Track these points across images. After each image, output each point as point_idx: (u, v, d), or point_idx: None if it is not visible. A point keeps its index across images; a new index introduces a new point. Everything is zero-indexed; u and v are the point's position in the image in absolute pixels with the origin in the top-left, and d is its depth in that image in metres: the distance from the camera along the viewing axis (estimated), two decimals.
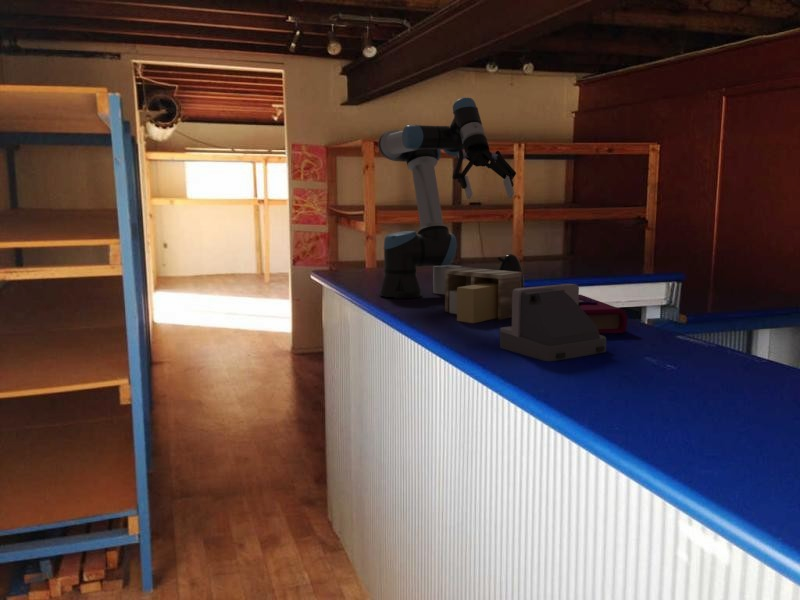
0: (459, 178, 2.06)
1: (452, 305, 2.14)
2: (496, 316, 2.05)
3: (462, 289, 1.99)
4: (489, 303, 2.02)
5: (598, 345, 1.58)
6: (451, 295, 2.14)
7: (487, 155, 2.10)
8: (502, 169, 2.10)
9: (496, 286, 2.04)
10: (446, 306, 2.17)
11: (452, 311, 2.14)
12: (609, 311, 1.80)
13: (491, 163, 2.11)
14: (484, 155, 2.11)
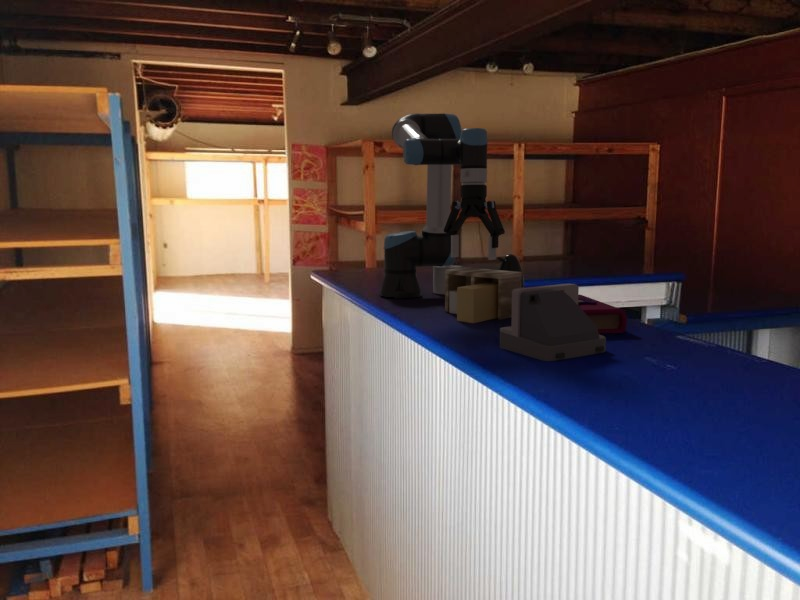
0: None
1: (452, 305, 2.14)
2: (496, 316, 2.05)
3: (462, 289, 1.99)
4: (489, 303, 2.02)
5: (597, 345, 1.59)
6: (451, 295, 2.14)
7: (474, 209, 1.94)
8: (487, 227, 1.93)
9: (496, 286, 2.04)
10: (446, 306, 2.17)
11: (452, 311, 2.14)
12: (609, 311, 1.80)
13: None
14: None
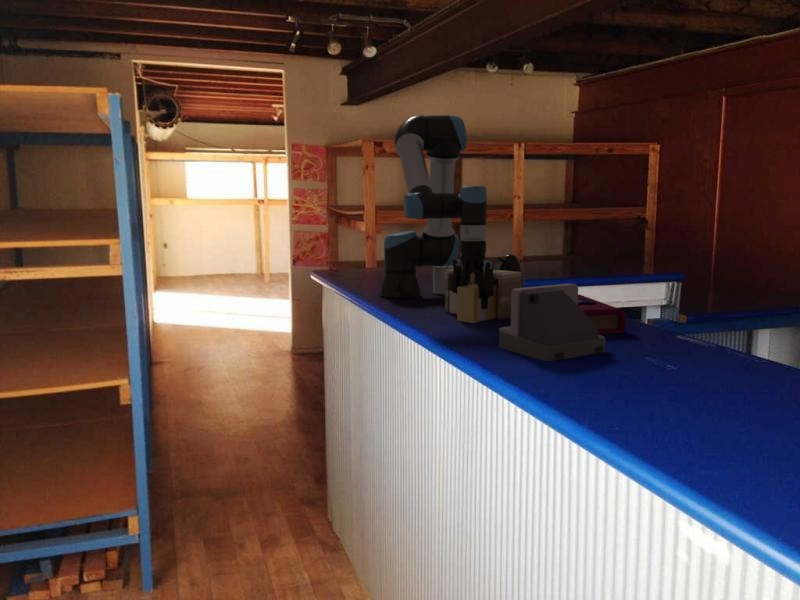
0: None
1: (452, 305, 2.14)
2: (496, 316, 2.05)
3: (462, 289, 1.99)
4: (489, 303, 2.02)
5: (597, 345, 1.59)
6: (451, 295, 2.14)
7: (473, 266, 1.97)
8: (479, 287, 1.97)
9: (496, 286, 2.04)
10: (446, 306, 2.17)
11: (452, 311, 2.14)
12: (608, 311, 1.80)
13: None
14: None
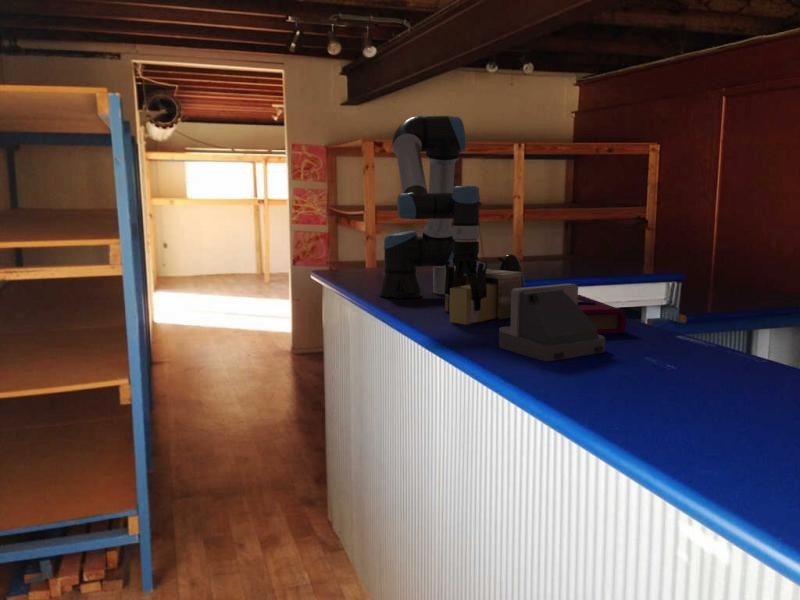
0: None
1: None
2: (489, 317, 2.03)
3: (455, 290, 1.96)
4: (482, 304, 2.00)
5: (597, 345, 1.59)
6: None
7: (465, 267, 1.95)
8: (472, 288, 1.95)
9: (489, 287, 2.01)
10: (446, 306, 2.17)
11: None
12: (608, 311, 1.80)
13: None
14: None
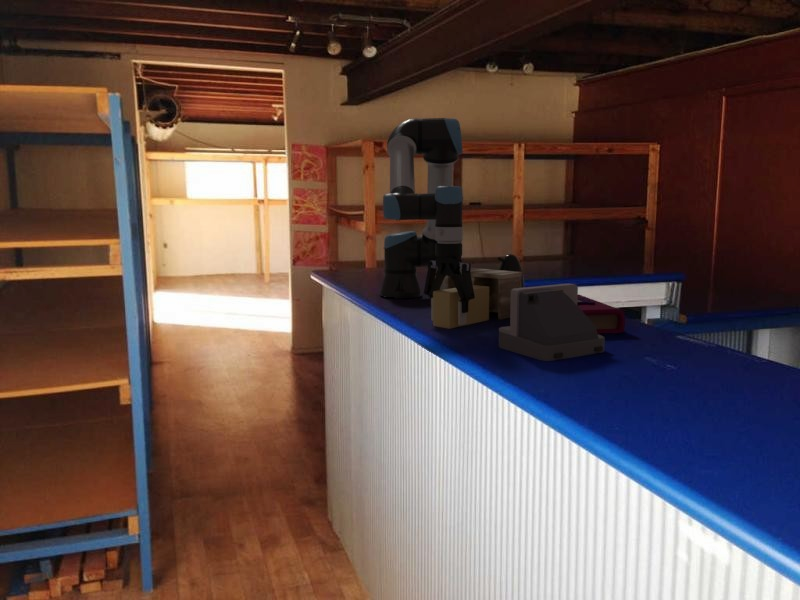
0: None
1: None
2: (474, 321, 1.98)
3: (438, 293, 1.91)
4: None
5: (596, 345, 1.59)
6: None
7: (449, 269, 1.89)
8: (458, 290, 1.89)
9: (474, 290, 1.96)
10: None
11: None
12: (607, 311, 1.80)
13: None
14: None
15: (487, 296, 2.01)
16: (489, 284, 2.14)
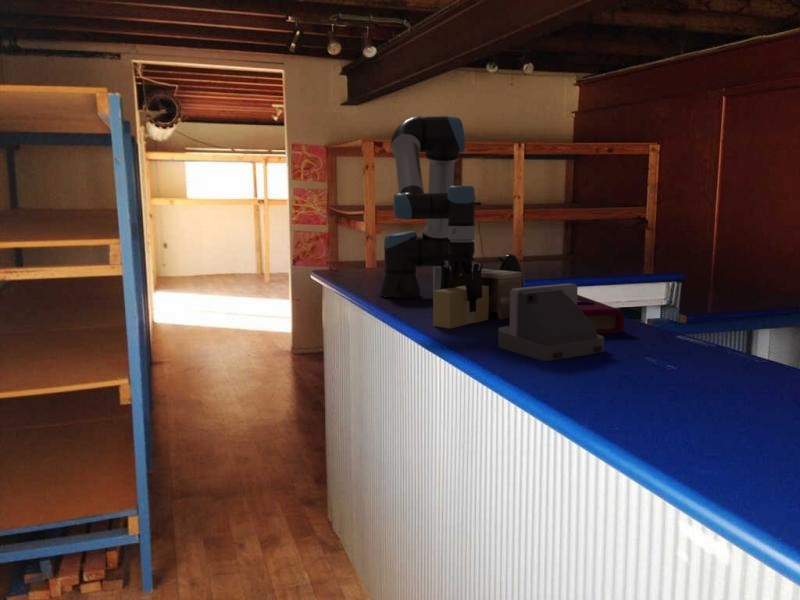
0: None
1: None
2: (474, 320, 1.98)
3: (438, 293, 1.91)
4: None
5: (596, 345, 1.59)
6: None
7: (461, 267, 1.93)
8: (467, 289, 1.93)
9: None
10: None
11: None
12: (606, 311, 1.80)
13: None
14: None
15: (487, 296, 2.01)
16: (489, 284, 2.14)
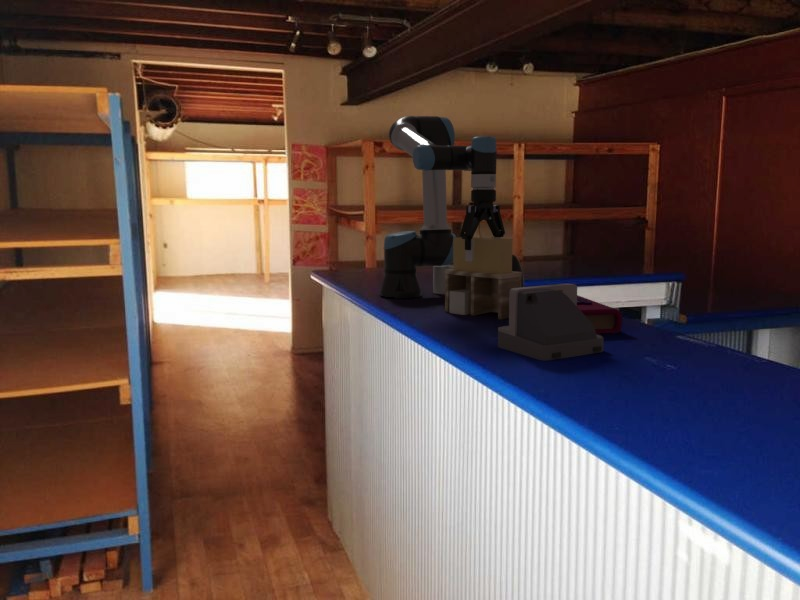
0: (466, 239, 2.04)
1: (452, 305, 2.14)
2: None
3: (504, 241, 2.04)
4: None
5: (595, 345, 1.59)
6: (451, 295, 2.14)
7: (491, 213, 2.09)
8: (497, 228, 2.13)
9: None
10: (446, 306, 2.17)
11: (452, 311, 2.14)
12: (604, 311, 1.80)
13: (490, 220, 2.11)
14: (489, 212, 2.09)
15: None
16: (489, 284, 2.14)
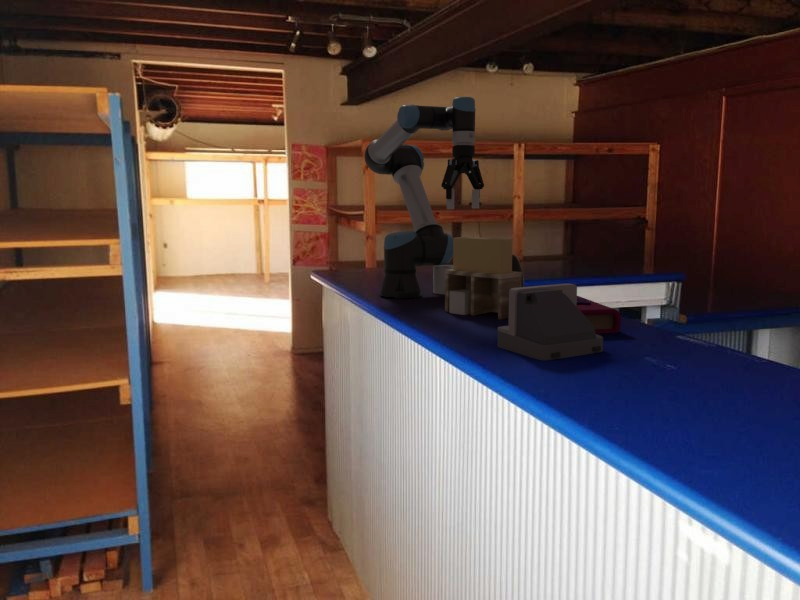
0: (447, 189, 2.26)
1: (452, 305, 2.14)
2: None
3: (504, 241, 2.04)
4: None
5: (594, 345, 1.59)
6: (451, 295, 2.14)
7: (471, 167, 2.32)
8: (476, 181, 2.36)
9: None
10: (446, 306, 2.17)
11: (452, 311, 2.14)
12: (603, 311, 1.80)
13: (470, 173, 2.33)
14: (469, 166, 2.31)
15: None
16: (489, 284, 2.14)
